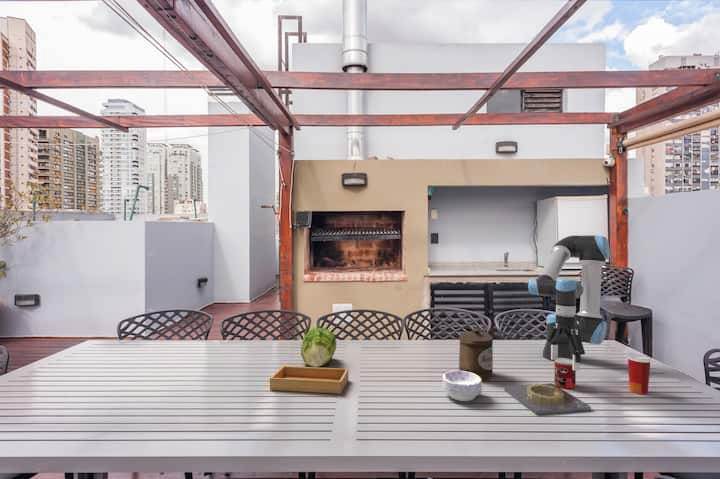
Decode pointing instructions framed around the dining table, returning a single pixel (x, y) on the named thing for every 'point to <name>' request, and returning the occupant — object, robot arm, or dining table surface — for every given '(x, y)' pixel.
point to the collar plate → (546, 406)
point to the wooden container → (476, 353)
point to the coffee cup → (638, 372)
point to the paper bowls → (462, 385)
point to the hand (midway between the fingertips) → (564, 364)
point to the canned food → (564, 373)
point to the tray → (309, 379)
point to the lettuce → (318, 347)
